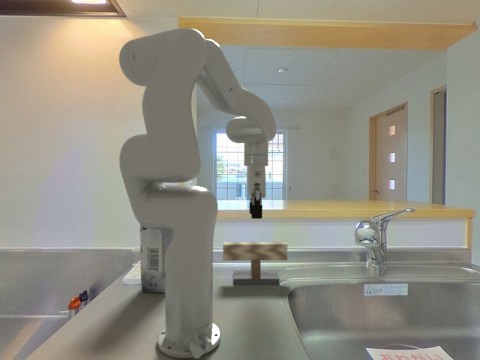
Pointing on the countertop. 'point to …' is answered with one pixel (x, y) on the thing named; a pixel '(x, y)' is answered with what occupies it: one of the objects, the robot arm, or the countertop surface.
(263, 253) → the beech bar
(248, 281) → the grey slab with post
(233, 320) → the countertop surface
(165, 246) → the juice carton
